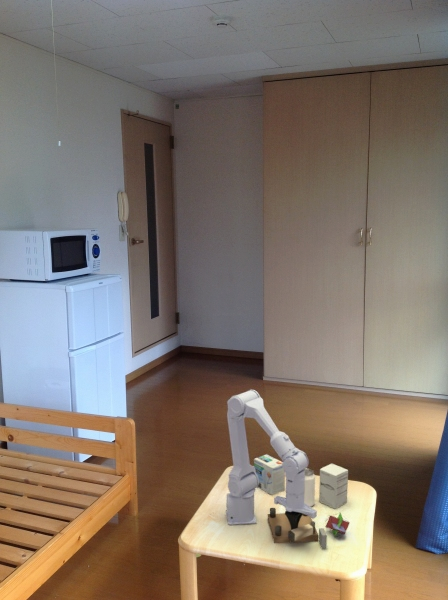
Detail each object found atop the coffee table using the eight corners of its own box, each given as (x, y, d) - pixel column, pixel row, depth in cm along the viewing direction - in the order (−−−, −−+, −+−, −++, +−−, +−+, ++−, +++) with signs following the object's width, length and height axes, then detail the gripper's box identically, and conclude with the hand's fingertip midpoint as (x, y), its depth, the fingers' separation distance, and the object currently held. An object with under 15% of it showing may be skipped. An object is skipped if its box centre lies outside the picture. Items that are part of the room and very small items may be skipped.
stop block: (321, 549, 172) (322, 535, 172) (318, 542, 176) (319, 528, 176) (326, 549, 172) (326, 535, 172) (323, 541, 176) (323, 528, 176)
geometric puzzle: (351, 522, 184) (337, 503, 183) (356, 533, 177) (341, 514, 176) (333, 534, 184) (319, 516, 184) (337, 546, 178) (323, 527, 177)
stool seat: (274, 543, 176) (274, 529, 175) (267, 519, 190) (267, 507, 189) (318, 541, 177) (318, 527, 176) (308, 517, 191) (308, 505, 190)
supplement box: (318, 502, 201) (318, 468, 199) (331, 495, 206) (331, 462, 204) (335, 510, 196) (335, 475, 194) (347, 502, 200) (348, 469, 199)
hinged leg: (292, 541, 172) (292, 532, 172) (288, 538, 174) (288, 528, 174) (316, 532, 177) (316, 523, 177) (312, 529, 179) (312, 520, 179)
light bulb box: (253, 485, 214) (253, 458, 213) (266, 480, 218) (266, 453, 217) (272, 495, 206) (272, 468, 204) (285, 490, 210) (285, 463, 208)
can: (314, 509, 196) (314, 476, 195) (295, 507, 198) (296, 475, 196) (315, 500, 203) (315, 468, 201) (296, 498, 204) (297, 467, 202)
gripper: (268, 488, 176) (268, 528, 178) (308, 503, 167) (307, 545, 169) (281, 480, 181) (281, 519, 183) (320, 494, 172) (319, 535, 174)
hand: (294, 531), depth 176 cm, fingers closed, pressing on hinged leg
